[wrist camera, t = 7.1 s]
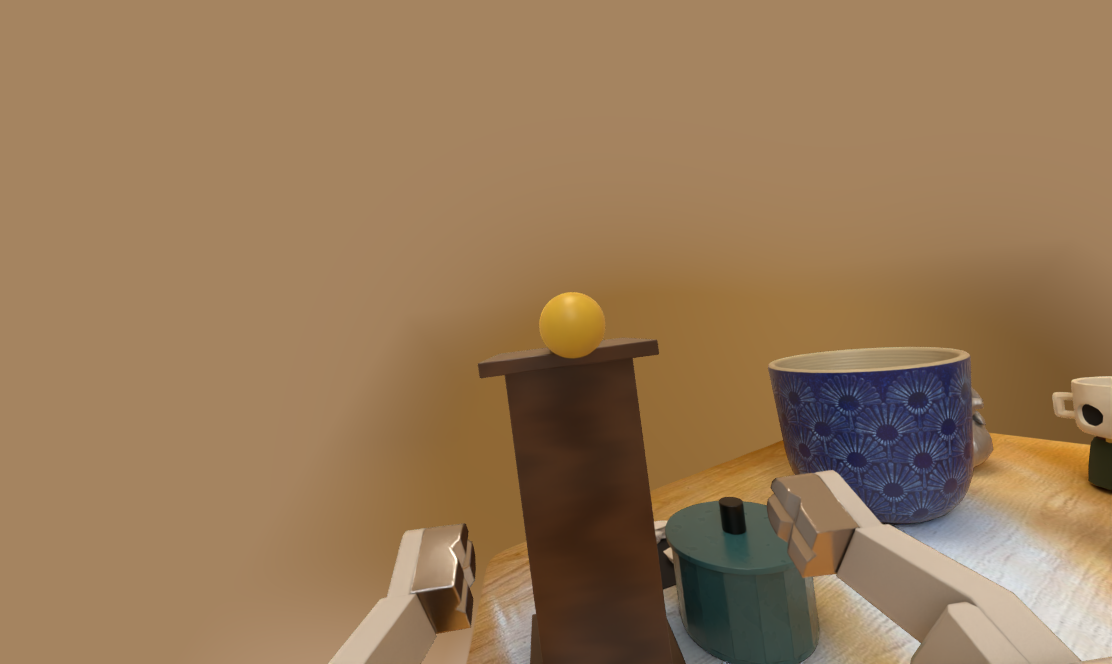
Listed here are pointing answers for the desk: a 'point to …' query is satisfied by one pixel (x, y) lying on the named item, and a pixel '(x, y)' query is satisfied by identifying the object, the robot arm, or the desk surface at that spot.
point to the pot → (748, 614)
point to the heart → (979, 432)
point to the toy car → (664, 555)
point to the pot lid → (728, 538)
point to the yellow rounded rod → (572, 325)
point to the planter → (882, 425)
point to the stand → (587, 505)
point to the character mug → (1092, 422)
